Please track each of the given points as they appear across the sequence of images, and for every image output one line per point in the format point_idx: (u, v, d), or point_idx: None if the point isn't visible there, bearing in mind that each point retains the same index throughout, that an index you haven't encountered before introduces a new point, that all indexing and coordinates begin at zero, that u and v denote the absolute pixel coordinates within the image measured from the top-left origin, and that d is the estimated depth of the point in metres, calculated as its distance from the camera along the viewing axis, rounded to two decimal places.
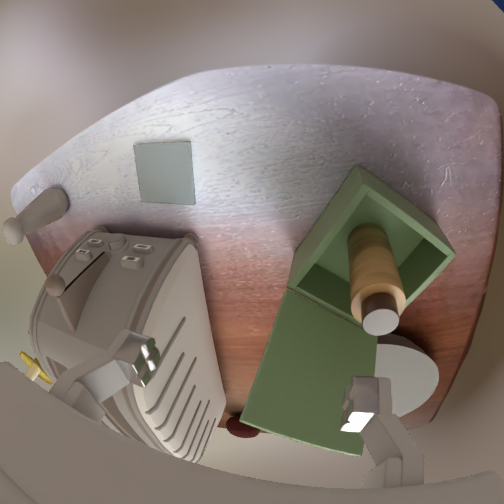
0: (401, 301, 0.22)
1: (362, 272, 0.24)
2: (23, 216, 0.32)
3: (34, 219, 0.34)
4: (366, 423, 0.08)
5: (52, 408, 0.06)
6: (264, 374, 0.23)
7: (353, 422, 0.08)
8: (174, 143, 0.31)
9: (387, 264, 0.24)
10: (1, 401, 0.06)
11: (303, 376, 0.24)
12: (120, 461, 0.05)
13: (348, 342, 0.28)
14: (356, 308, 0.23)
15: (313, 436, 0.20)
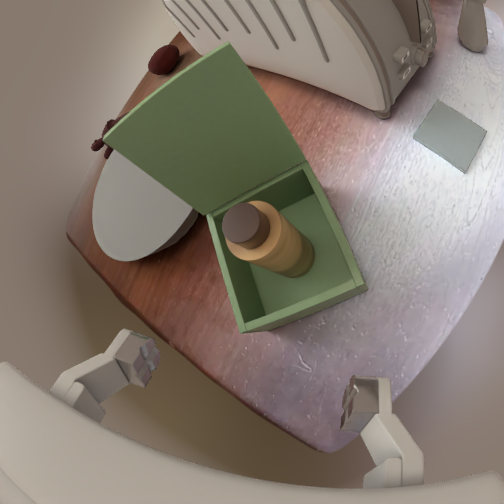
0: (243, 254, 0.23)
1: (290, 232, 0.24)
2: (480, 9, 0.17)
3: (472, 14, 0.19)
4: (366, 423, 0.08)
5: (52, 408, 0.06)
6: (255, 89, 0.19)
7: (353, 422, 0.08)
8: (470, 160, 0.25)
9: (281, 260, 0.25)
10: (1, 401, 0.06)
11: (225, 123, 0.22)
12: (120, 461, 0.05)
13: (221, 184, 0.28)
14: (263, 207, 0.23)
15: (161, 100, 0.18)
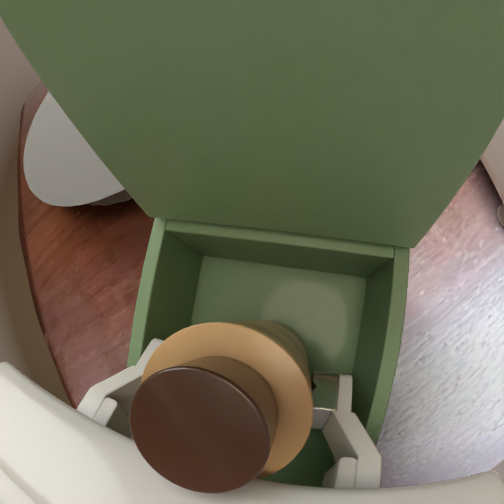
0: None
1: None
2: None
3: None
4: (326, 420, 0.08)
5: (52, 408, 0.06)
6: None
7: None
8: None
9: None
10: (1, 401, 0.06)
11: (352, 48, 0.04)
12: (120, 461, 0.05)
13: (212, 191, 0.10)
14: (283, 378, 0.07)
15: None
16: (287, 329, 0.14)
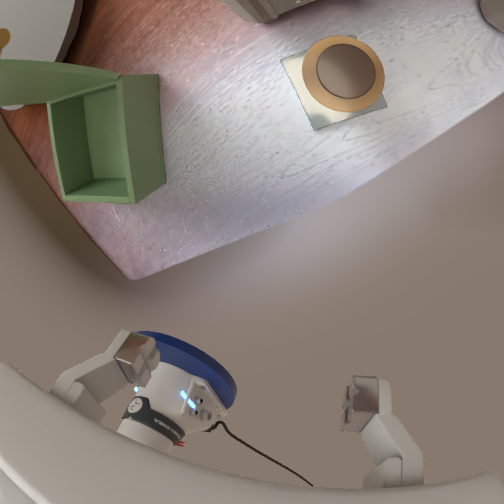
0: (320, 94, 0.15)
1: None
2: None
3: None
4: (366, 423, 0.08)
5: (52, 408, 0.06)
6: (32, 72, 0.12)
7: (353, 422, 0.08)
8: (331, 123, 0.25)
9: None
10: (0, 401, 0.06)
11: (22, 85, 0.14)
12: (120, 461, 0.05)
13: (45, 95, 0.20)
14: (369, 57, 0.13)
15: None
16: None
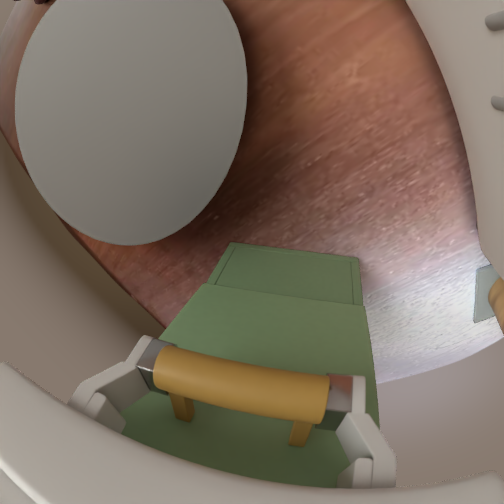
0: None
1: None
2: None
3: None
4: (340, 422, 0.08)
5: (52, 407, 0.06)
6: None
7: (326, 420, 0.08)
8: (486, 318, 0.25)
9: None
10: (0, 401, 0.06)
11: None
12: (120, 461, 0.05)
13: None
14: None
15: None
16: None
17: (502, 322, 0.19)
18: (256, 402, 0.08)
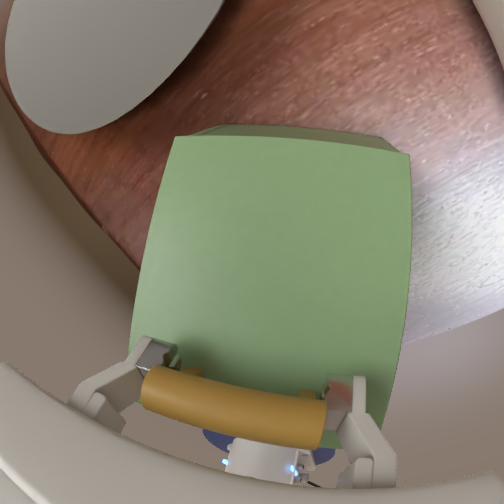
0: None
1: None
2: None
3: None
4: (340, 421, 0.08)
5: (52, 407, 0.06)
6: None
7: (327, 420, 0.08)
8: None
9: None
10: (0, 401, 0.06)
11: None
12: (120, 461, 0.05)
13: None
14: None
15: None
16: None
17: None
18: None
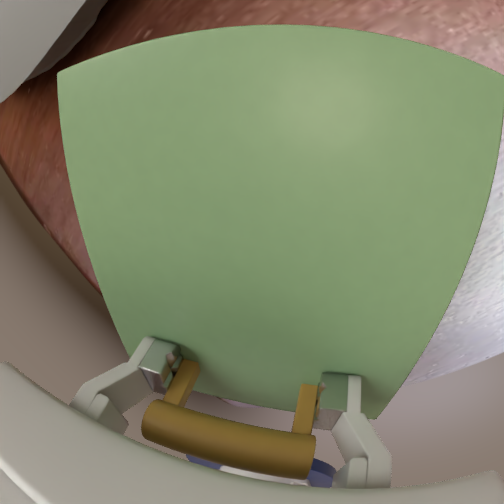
0: None
1: None
2: None
3: None
4: (335, 421, 0.08)
5: (52, 408, 0.06)
6: None
7: (322, 419, 0.09)
8: None
9: None
10: (1, 401, 0.06)
11: None
12: (120, 461, 0.05)
13: None
14: None
15: None
16: None
17: None
18: None
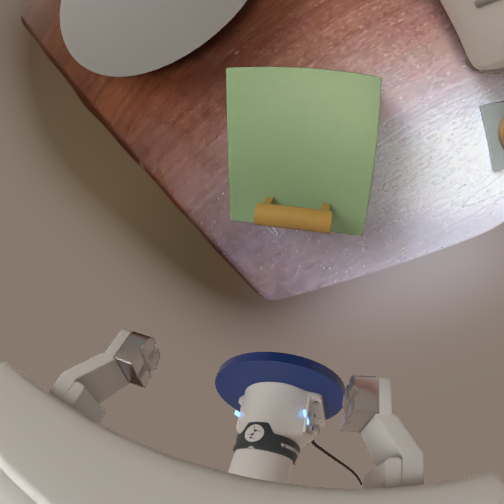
0: None
1: None
2: None
3: None
4: (366, 423, 0.08)
5: (52, 408, 0.06)
6: None
7: (353, 422, 0.08)
8: None
9: None
10: (1, 401, 0.06)
11: None
12: (120, 461, 0.05)
13: None
14: None
15: None
16: None
17: None
18: None
